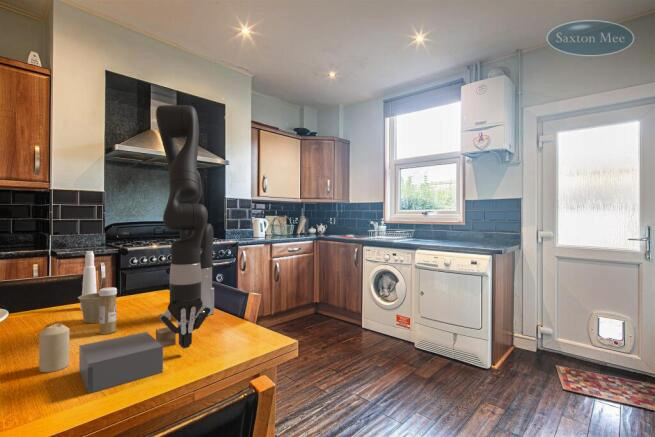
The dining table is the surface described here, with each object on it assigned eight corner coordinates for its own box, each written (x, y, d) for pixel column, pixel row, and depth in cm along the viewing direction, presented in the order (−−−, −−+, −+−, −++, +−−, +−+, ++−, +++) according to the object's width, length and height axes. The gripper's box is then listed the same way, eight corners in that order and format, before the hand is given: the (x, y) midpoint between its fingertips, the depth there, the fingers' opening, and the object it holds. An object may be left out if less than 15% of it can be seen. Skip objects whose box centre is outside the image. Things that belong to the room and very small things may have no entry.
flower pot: (71, 323, 111) (71, 297, 111) (99, 315, 120) (99, 291, 120) (89, 326, 108) (90, 299, 108) (117, 318, 117) (118, 293, 117)
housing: (146, 355, 86) (146, 331, 86) (162, 372, 77) (162, 346, 77) (79, 371, 77) (79, 345, 77) (88, 393, 67) (88, 364, 67)
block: (170, 340, 96) (170, 326, 96) (175, 344, 93) (175, 330, 93) (155, 343, 94) (155, 329, 94) (160, 348, 91) (160, 333, 91)
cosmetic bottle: (91, 310, 126) (91, 252, 126) (75, 310, 126) (76, 252, 126) (102, 306, 132) (102, 250, 132) (87, 306, 132) (87, 250, 132)
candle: (50, 362, 81) (50, 321, 81) (74, 362, 82) (75, 321, 82) (32, 373, 76) (32, 329, 76) (58, 372, 76) (58, 328, 76)
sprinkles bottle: (116, 332, 102) (117, 289, 102) (98, 335, 100) (98, 290, 100) (116, 328, 106) (116, 286, 106) (99, 331, 104) (99, 287, 104)
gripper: (162, 286, 79) (162, 359, 80) (216, 279, 88) (216, 345, 88) (153, 281, 85) (153, 349, 85) (205, 275, 94) (204, 337, 94)
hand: (185, 347), depth 87 cm, fingers closed
